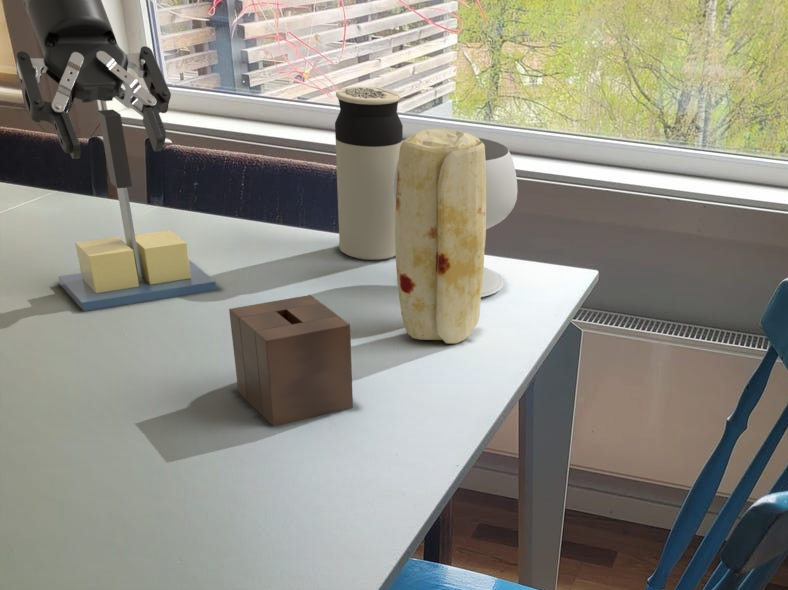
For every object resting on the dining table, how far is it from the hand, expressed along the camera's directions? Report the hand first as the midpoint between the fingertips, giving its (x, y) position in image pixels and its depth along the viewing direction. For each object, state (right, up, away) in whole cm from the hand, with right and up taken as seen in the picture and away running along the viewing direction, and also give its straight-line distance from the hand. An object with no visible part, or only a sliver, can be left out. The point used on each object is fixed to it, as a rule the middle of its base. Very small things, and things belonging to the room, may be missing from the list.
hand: (119, 150), depth 103 cm
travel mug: (+24, -1, +24) cm, 34 cm away
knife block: (+20, -28, -10) cm, 36 cm away
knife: (-1, -10, +10) cm, 14 cm away
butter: (-1, -11, +10) cm, 15 cm away
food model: (+33, -18, +4) cm, 38 cm away
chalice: (+34, -8, +16) cm, 39 cm away
